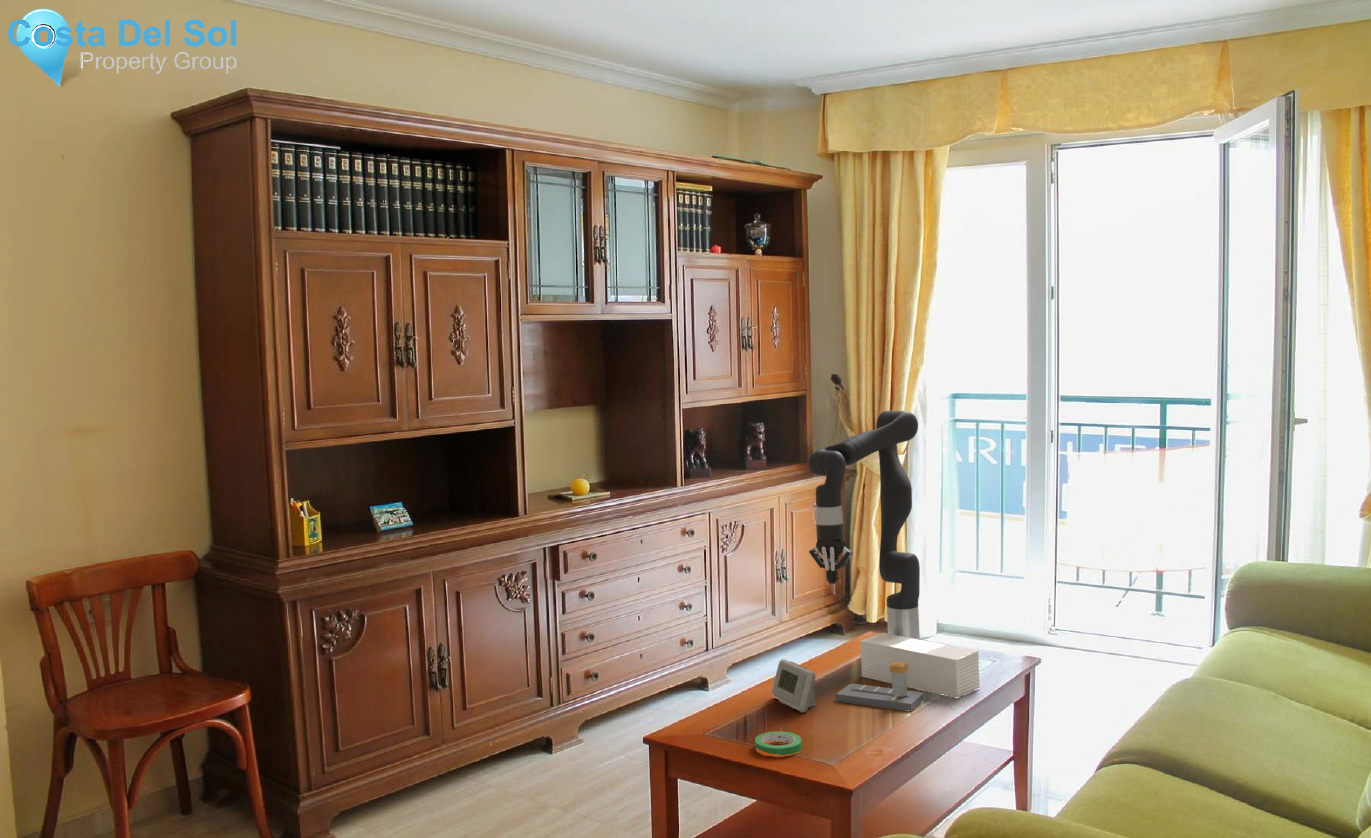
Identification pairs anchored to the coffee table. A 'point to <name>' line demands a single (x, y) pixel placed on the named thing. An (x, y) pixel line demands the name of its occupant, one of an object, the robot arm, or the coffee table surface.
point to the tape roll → (779, 736)
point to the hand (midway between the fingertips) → (832, 583)
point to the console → (879, 697)
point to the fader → (899, 678)
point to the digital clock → (794, 685)
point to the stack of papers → (921, 664)
